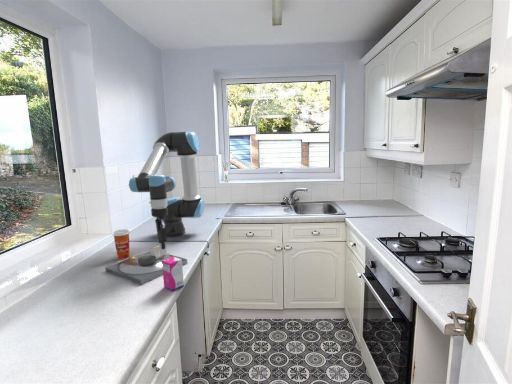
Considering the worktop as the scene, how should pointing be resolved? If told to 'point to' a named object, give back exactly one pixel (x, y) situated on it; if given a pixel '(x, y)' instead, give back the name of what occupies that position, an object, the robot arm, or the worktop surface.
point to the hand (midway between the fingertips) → (163, 254)
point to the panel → (140, 268)
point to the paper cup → (122, 243)
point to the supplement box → (172, 273)
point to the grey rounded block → (150, 257)
